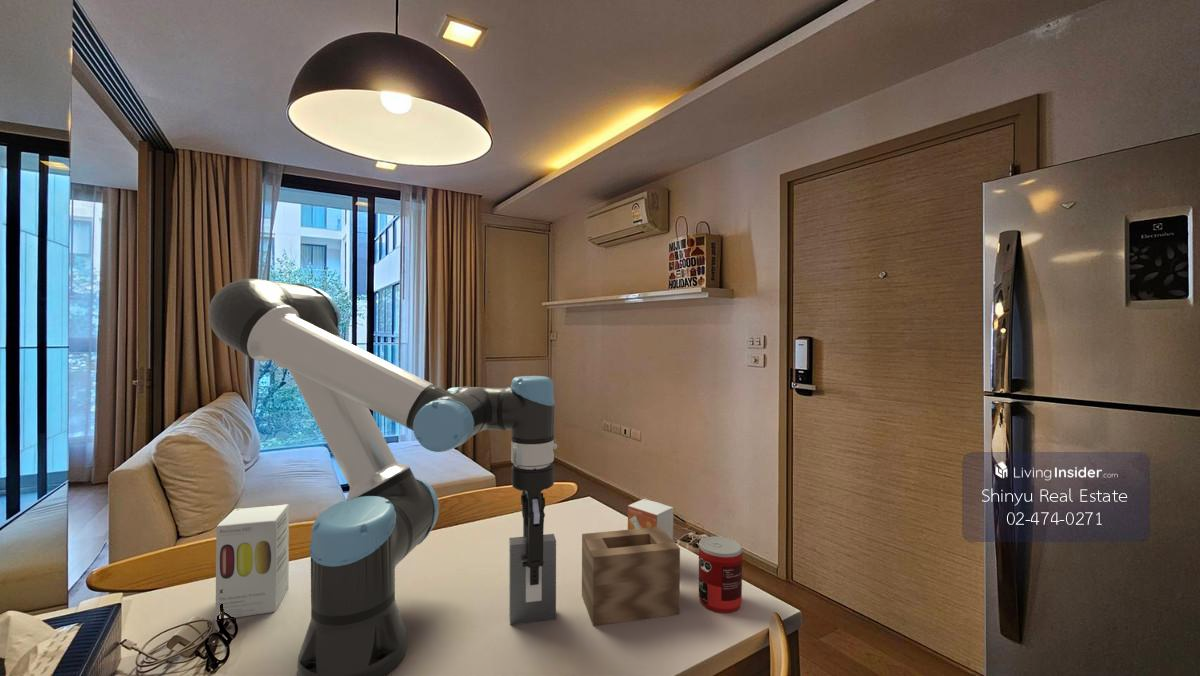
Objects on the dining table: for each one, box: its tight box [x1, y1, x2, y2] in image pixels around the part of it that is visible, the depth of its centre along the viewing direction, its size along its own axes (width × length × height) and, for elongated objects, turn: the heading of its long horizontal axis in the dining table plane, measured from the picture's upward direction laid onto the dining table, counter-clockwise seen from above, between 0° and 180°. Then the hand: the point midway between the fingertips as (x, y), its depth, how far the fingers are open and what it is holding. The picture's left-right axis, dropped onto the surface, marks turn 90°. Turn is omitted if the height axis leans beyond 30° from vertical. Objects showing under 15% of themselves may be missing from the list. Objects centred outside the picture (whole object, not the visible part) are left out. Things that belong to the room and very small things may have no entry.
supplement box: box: [214, 503, 290, 621], centre depth 92 cm, size 10×9×17 cm
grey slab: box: [508, 533, 557, 626], centre depth 88 cm, size 8×3×14 cm, turn 104°
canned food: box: [698, 535, 743, 614], centre depth 93 cm, size 8×8×11 cm
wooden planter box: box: [581, 527, 681, 627], centre depth 92 cm, size 16×10×12 cm, turn 103°
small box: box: [627, 498, 674, 541], centre depth 108 cm, size 8×6×13 cm
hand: (532, 594), depth 88 cm, fingers closed on grey slab, 3 cm apart
